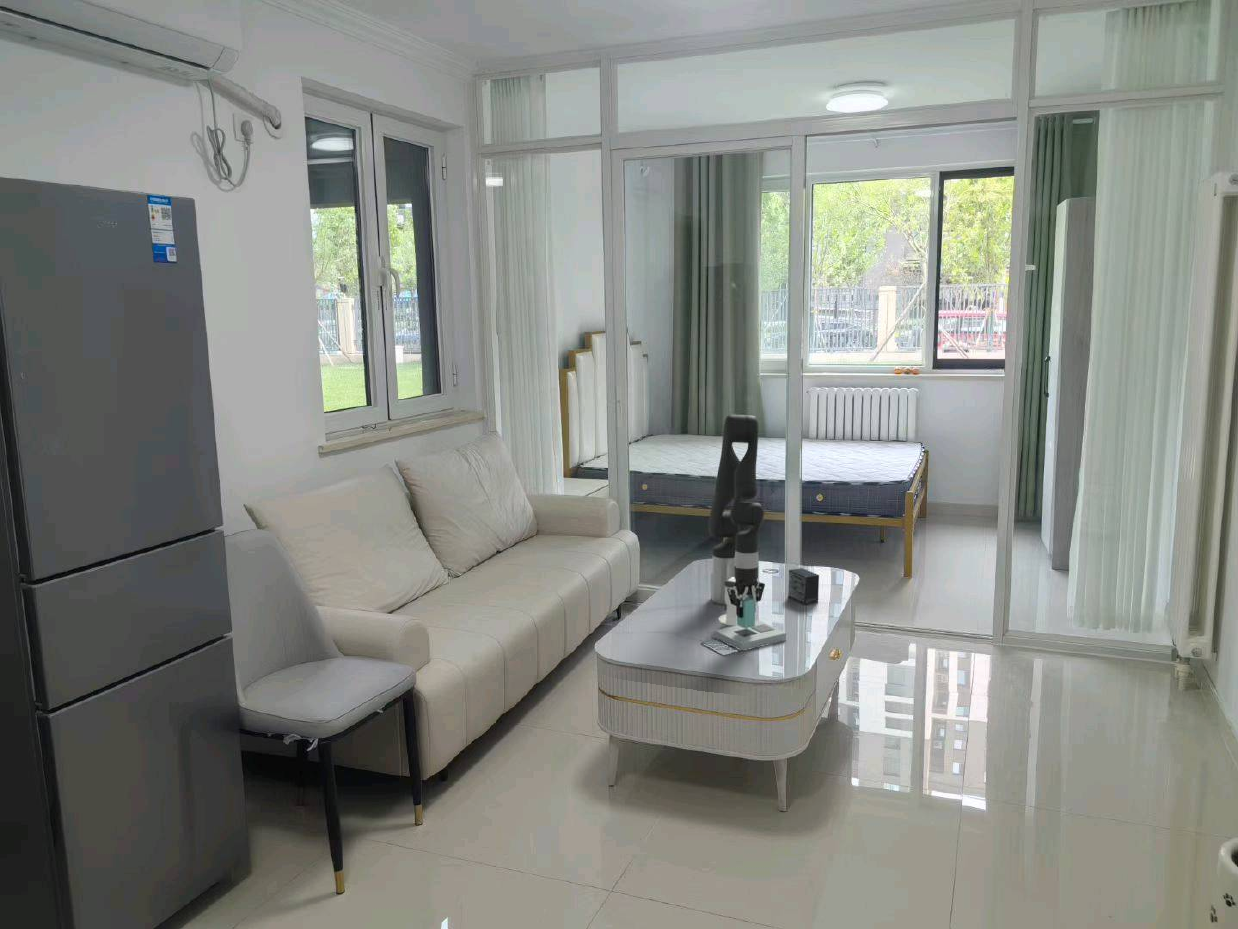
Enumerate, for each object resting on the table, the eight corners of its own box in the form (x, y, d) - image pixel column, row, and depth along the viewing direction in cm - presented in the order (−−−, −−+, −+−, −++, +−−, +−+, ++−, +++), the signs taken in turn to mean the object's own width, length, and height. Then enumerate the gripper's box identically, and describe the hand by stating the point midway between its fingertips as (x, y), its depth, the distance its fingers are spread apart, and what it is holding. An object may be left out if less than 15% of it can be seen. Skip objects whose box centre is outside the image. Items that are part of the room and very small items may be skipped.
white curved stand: (726, 612, 327) (727, 571, 325) (757, 617, 322) (757, 575, 319) (713, 622, 317) (713, 580, 314) (744, 628, 312) (745, 584, 309)
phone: (723, 657, 288) (723, 654, 288) (700, 645, 298) (700, 642, 298) (738, 653, 291) (738, 650, 291) (716, 642, 301) (716, 638, 301)
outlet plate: (714, 637, 303) (714, 629, 303) (758, 627, 312) (758, 619, 312) (741, 651, 291) (741, 643, 291) (786, 640, 300) (786, 632, 300)
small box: (819, 602, 336) (820, 574, 335) (804, 605, 334) (805, 577, 332) (801, 594, 346) (802, 567, 344) (787, 597, 343) (788, 569, 341)
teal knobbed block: (737, 624, 300) (737, 596, 299) (746, 622, 302) (747, 594, 301) (744, 628, 297) (745, 599, 295) (754, 626, 299) (755, 597, 297)
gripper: (756, 558, 303) (755, 608, 306) (721, 565, 296) (720, 616, 299) (771, 563, 296) (770, 615, 300) (735, 570, 289) (735, 623, 292)
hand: (745, 615), depth 299 cm, fingers closed on teal knobbed block, 4 cm apart
